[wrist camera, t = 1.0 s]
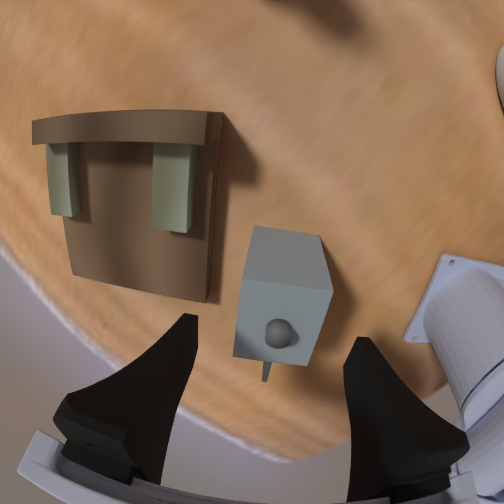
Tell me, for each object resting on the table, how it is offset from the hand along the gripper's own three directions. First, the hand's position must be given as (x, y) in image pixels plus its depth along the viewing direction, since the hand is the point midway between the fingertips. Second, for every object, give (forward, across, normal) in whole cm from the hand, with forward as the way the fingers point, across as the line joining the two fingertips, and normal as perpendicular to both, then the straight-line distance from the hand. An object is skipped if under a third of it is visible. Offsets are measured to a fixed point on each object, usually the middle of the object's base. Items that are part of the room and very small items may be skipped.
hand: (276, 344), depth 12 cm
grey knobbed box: (+7, 0, +1) cm, 7 cm away
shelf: (+7, +10, -3) cm, 13 cm away
